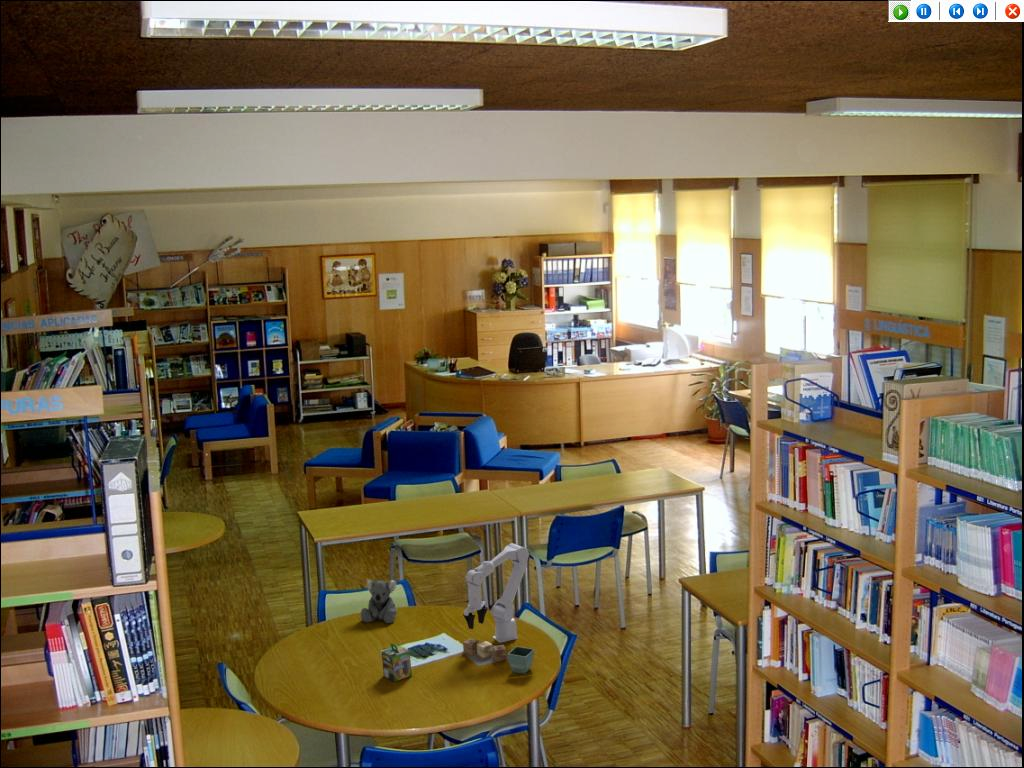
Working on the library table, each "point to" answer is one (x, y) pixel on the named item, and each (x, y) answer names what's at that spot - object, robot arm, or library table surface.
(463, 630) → the library table surface
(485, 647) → the plain block
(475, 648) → the pip block two
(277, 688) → the library table surface
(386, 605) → the koala plush
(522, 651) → the flower pot
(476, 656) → the felt mat
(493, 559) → the robot arm
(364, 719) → the library table surface
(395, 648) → the green printed carry box
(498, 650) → the pip block one
